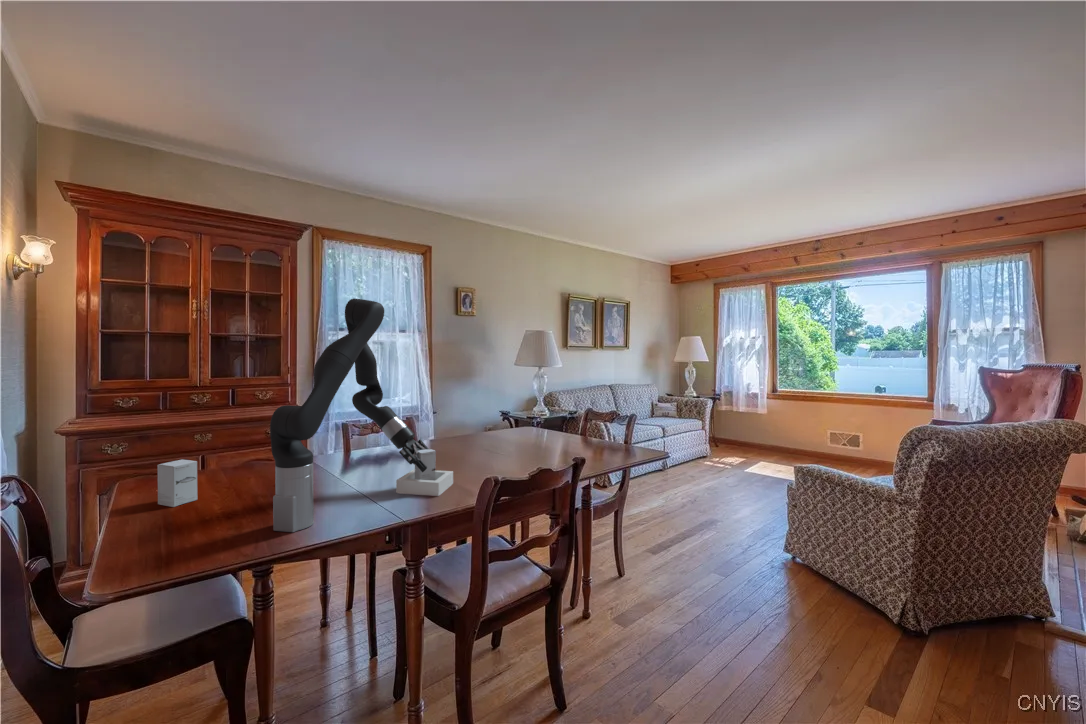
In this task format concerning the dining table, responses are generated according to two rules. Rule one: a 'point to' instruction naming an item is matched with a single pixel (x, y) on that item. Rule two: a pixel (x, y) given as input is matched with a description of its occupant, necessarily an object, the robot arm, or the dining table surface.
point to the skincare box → (430, 461)
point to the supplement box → (177, 482)
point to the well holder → (424, 484)
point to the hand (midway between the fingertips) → (429, 467)
